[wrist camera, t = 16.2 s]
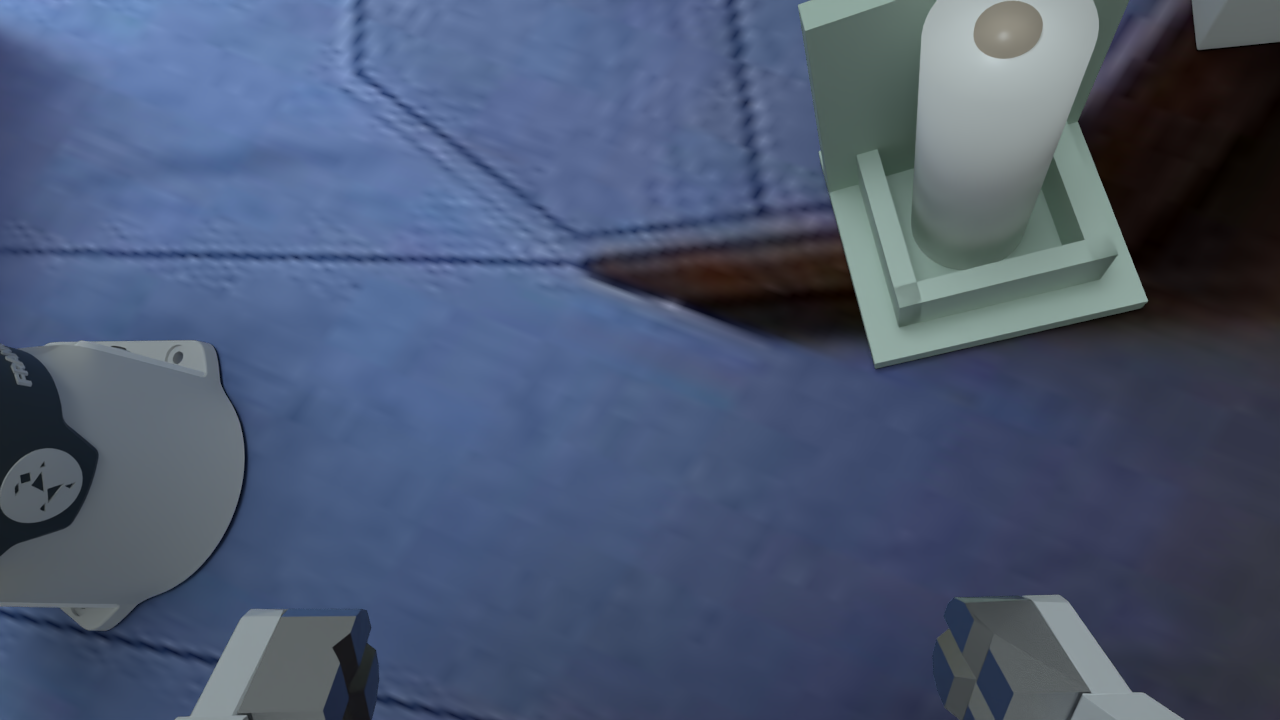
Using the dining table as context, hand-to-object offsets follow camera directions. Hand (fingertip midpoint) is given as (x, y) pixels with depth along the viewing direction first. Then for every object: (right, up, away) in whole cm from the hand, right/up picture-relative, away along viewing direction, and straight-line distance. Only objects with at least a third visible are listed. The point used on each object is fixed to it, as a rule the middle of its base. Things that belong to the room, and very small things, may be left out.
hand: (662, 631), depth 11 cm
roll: (+16, +11, +27) cm, 33 cm away
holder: (+16, +10, +28) cm, 34 cm away
